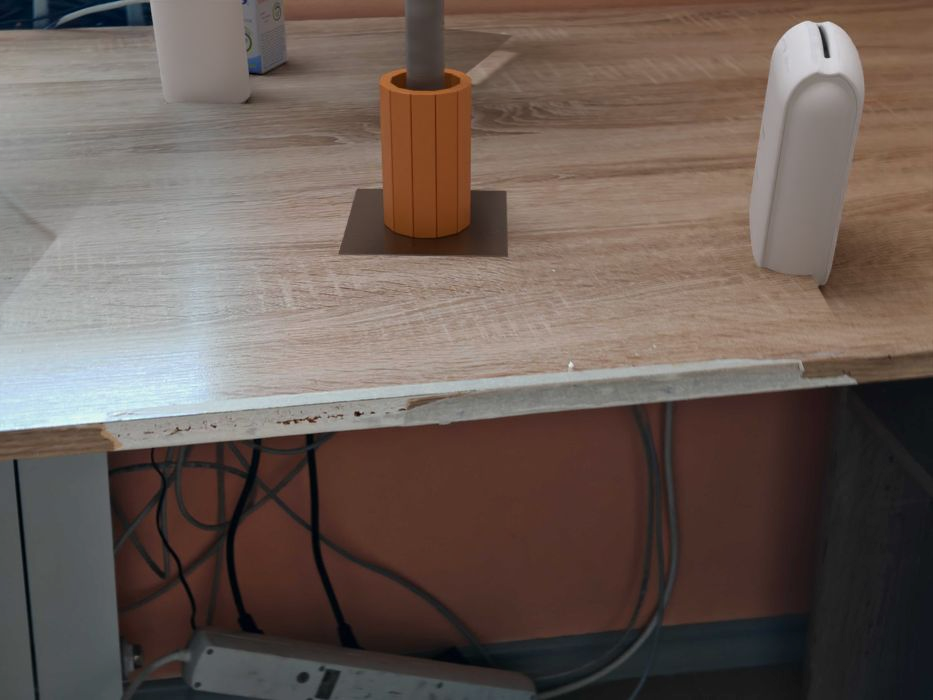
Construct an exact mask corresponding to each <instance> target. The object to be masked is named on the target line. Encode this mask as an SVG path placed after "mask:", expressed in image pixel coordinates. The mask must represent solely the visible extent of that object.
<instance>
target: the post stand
mask: <svg viewBox="0 0 933 700" xmlns="http://www.w3.org/2000/svg"><path fill="white" fill-rule="evenodd" d="M404 28H405V29H404V30H405V31H404V33H405V34H404V35H405V36H404V37H405V69H406V79H407V90H412V91H437V90H443V89H445V68H446V66H445V64H446V63H445V0H404ZM507 196H508V194H507V190H500V189H499V190H496V189H495V190H493V189H489V190H487V189H485V190H483V189H471V199H470V224H469V226H468V227H466V228H465V229H463V230H462V231H460V232H459V233H456V234H452V235H448V236H443V237H439V238H438V237H436V238H415V237H409V236H406V235H402V234H398V233H395V232H393V231H392V230H391V229H390V228H389V227H387V226H386V225H385V223H384V205H383V188H356V190H355V193H354V198H353V200H352V205H351V208H350V211H349V214H348V219H347V222H346V225H345V229H344V233H343V236H342V239H341V242H340V247H339V251H338V256H397V257H402V256H403V257H406V256H407V257H462V258H463V257H467V258H468V257H469V258H509V234H508V197H507Z"/></svg>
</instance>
